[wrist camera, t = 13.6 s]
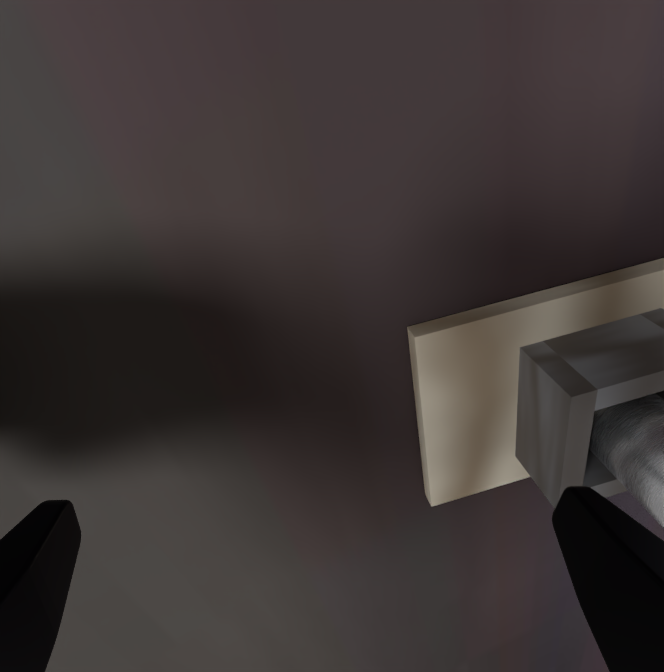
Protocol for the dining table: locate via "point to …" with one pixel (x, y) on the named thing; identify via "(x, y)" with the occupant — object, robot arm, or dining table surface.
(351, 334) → the dining table surface
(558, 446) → the block
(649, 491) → the pin
